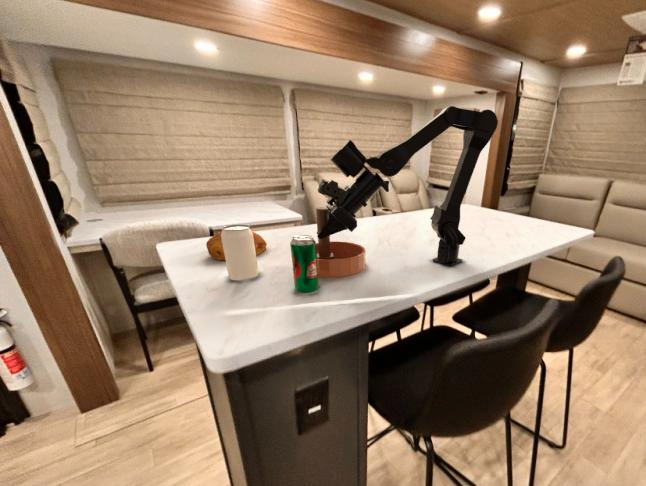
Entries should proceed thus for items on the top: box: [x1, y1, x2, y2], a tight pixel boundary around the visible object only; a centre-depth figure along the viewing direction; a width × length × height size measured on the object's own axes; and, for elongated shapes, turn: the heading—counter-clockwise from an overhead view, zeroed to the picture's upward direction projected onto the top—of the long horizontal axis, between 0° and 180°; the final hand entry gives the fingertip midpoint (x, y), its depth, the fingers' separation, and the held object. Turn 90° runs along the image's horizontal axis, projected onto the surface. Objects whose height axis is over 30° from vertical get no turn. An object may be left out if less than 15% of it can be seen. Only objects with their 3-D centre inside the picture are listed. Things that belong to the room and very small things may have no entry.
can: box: [221, 224, 260, 282], centre depth 71 cm, size 6×6×12 cm
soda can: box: [289, 234, 320, 294], centre depth 66 cm, size 5×5×12 cm
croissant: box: [206, 231, 267, 261], centre depth 88 cm, size 14×16×8 cm
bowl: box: [316, 240, 367, 279], centre depth 80 cm, size 16×16×5 cm
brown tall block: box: [315, 206, 334, 260], centre depth 79 cm, size 4×3×13 cm
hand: (318, 236), depth 79 cm, fingers closed on brown tall block, 3 cm apart
